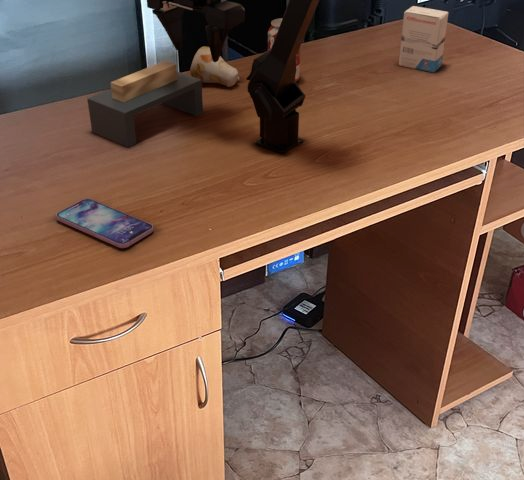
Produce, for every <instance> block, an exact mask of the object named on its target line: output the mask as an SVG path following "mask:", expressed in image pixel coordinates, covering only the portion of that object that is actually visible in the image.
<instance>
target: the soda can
mask: <svg viewBox="0 0 524 480" xmlns="http://www.w3.org/2000/svg"><path fill="white" fill-rule="evenodd" d="M282 19H283V17H281V18H275V19H273V20H271V22H270V24H271V25H270V26H269V28H268V30H267V51H268V50H269V49H271V47H272V45H273V42H274V40H275V37H276V34H277V32H278V29H279V27H280V24H281V21H282ZM300 67H301V47H300V48H299V51H298V53H297V56H296V75H295V79H294V81H295V82H296V83H297V82H298V81H299V79H300V71H301V68H300Z"/></svg>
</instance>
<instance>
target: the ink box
mask: <svg viewBox="0 0 524 480" xmlns="http://www.w3.org/2000/svg"><path fill="white" fill-rule="evenodd" d="M448 19H449V11H445V10H440V9H433V8H429V7H423V6H416V5H412V6H410V7H409V8H408V9H406V10H405V11H404V12H403V18H402V27H401V28H402V29H401V37H400V38H401V39H400V48H399V56H398V57H399V58H398V65H399V66H400V67H405V68H409V69H415V70H418V71H424V72H428V73H435V72H437V70H439V69H440V68H441V67H442V64H443V56H444V49H445V42H446V36H447V27H448Z"/></svg>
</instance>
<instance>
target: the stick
mask: <svg viewBox="0 0 524 480" xmlns="http://www.w3.org/2000/svg"><path fill="white" fill-rule="evenodd" d="M177 72H178V67H177V64H176V63H173V62H170V61H168V60H162V61H161V62H159V63H156V64H153V65H151V66H147V67H145V68H143V69H141V70H138V71H136V72H132V73H131V74H128V75H125V76H123V77H120V78H118V79H115V80H112V81H111V82H110V89H111V91H112V98H113V99H116V100H118V101H121V102H126V101H128V100H131V99H133V98H135V97H138V96H140V95H143V94H145V93H147V92H150V91H152V90H154V89H157V88H159V87H162V86H164V85H166V84H169V83H171V82H173V81H176V80H177Z"/></svg>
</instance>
